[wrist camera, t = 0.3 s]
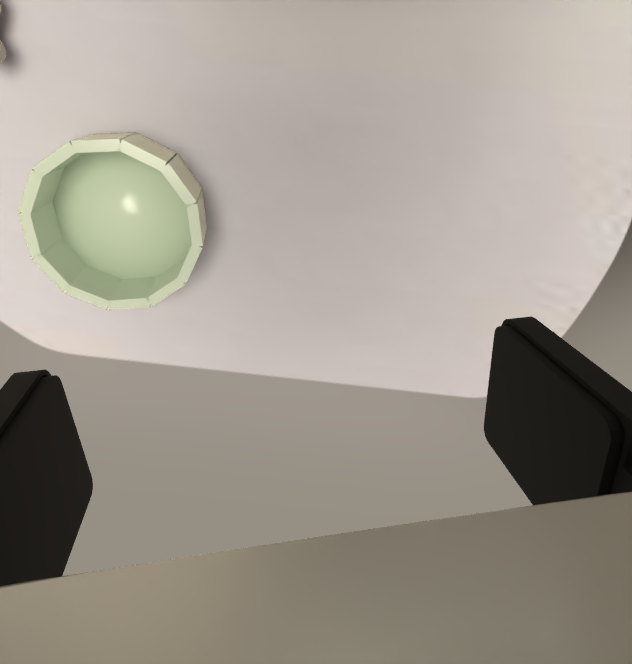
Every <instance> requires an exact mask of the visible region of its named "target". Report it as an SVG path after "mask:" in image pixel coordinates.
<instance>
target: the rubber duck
mask: <svg viewBox="0 0 632 664" xmlns="http://www.w3.org/2000/svg"><path fill="white" fill-rule="evenodd" d="M0 13H1V4H0ZM5 58H6V50H5V47H4V45H3V43H2V42H1V40H0V62H3V61H4V60H5Z"/></svg>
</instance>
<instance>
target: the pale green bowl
mask: <svg viewBox="0 0 632 664" xmlns="http://www.w3.org/2000/svg"><path fill="white" fill-rule="evenodd" d="M175 154H176V153H175V152H173V151H172V150H170V149H168V148H166V147H164V146H162V145H160V144H158V143H156V142H154V141H152V140H150V139H148V138H146V137H144V136H142V135H140V134H138V133H137V134H135V133H114V134H93V135H89V136H86V137H82V138H79V139H75V140H72V141H69V142H67V143H66V144H65V145H63V146H62V147H60V148H59V149H58V150H56V151H55V152H53V153H52V154H51V155H49V156H48V157H47V158H45V159H44V160H42V161H41V162H40V163H38V164H37V165H36V166H34V167H33V169H32V170H31V171H30V174H29V178H28V181H27V184H26V187H25V190H24V193H23V197H22V200H21V203H20V206H19V209H18V212H20V213H18V216H19V219H20V223H21V226H22V230H23V233H24V237H25V240H26V244H27V248H28V251H29V255H30V257H33V258H32V260H33V261H34V262H35V263H36V264H37V265H38V267H39V268H40V269H41V270H42V271H43V272H44V273H45V274H46V275H47V276H48V277H49V278H50V279H51V280H52V281H53V282H54V283H55V284H56V285H57V286H58V288H59V289H60V290H61V291H62V292H64V291H66V293H65V294H67V295H70V296H72V297H75V298H77V299H80V300H83V301H85V302H88V303H90V304H93V305H95V306H98V307H101V308H103V309H106V310H107V309H108V308H109V310H119V309H131V308H144V307H151V305H152V306H154V305H155V304H157V303H158V302H160V301H161V300H163V299H164V298H166V297H167V296H169V295H170V294H172V293H174V292H175V291H177V290H178V289H180V288H181V287H183V286H184V285H185V283H187V281H188V279H189V276H190V274H191V272H192V270H193V268H194V265H195V263H196V261H197V259H198V257H199V254H200V252H201V250H202V248H203V243H204V239H205V235H206V231H207V222H206V214H205V206H204V198H203V190H201V189H202V188H201V186H200V185H199V183H198V182H197V181H196V179H195V178H194V176H193V175H192V174H191V172H190V171H189V169H188V168H187V167H186V165H185V164H184V162H183V161H182V160H181V158H180V157H179V155H178V154H177V155H176V156H175Z"/></svg>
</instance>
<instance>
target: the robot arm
mask: <svg viewBox="0 0 632 664" xmlns="http://www.w3.org/2000/svg"><path fill="white" fill-rule="evenodd" d="M484 432H485V436H486V438H487V441H488V442H489V444H490V445H491V447H492V448H493V449H494V451H495V452H496V454H497V455H498V457H499V458H500V459H501V461H502V462H503V464H504V465H505V466H506V468H507V469H508V470H509V472H510V473H511V475H512V476H513V478H514V479H515V480H516V482H517V483H518V485H519V486H520V487H521V489H522V490H523V491H524V493H525V494H526V496H527V497H528V499H529V500H530V501H531V503H532V504H533V505H532V506H526V507H518V508H511V509H504V510H497V511H490V512H484V513H476V514H470V515H463V516H456V517H449V518H443V519H436V520H429V521H422V522H415V523H409V524H401V525H395V526H388V527H381V528H374V529H368V530H361V531H354V532H347V533H341V534H334V535H328V536H321V537H314V538H308V539H301V540H295V541H288V542H282V543H275V544H269V545H262V546H255V547H249V548H242V549H235V550H229V551H222V552H216V553H209V554H202V555H196V556H189V557H184V558H176V559H170V560H164V561H158V562H152V563H145V564H138V565H132V566H125V567H119V568H112V569H106V570H99V571H93V572H86V573H80V574H74V575H67V576H62V575H63V572H64V569H65V566H66V564H67V561H68V558H69V556H70V553H71V550H72V547H73V544H74V542H75V539H76V536H77V533H78V531H79V528H80V525H81V523H82V520H83V517H84V514H85V512H86V509H87V506H88V503H89V501H90V498H91V495H92V489H93V483H92V477H91V473H90V470H89V467H88V464H87V461H86V458H85V454H84V451H83V448H82V445H81V442H80V439H79V435H78V432H77V429H76V426H75V423H74V420H73V417H72V413H71V411H70V407H69V404H68V401H67V398H66V395H65V392H64V388H63V385H62V382H61V380H60V378H59V377H58V376H51V374H50V373H49V372H48V371H47V370H38V371H29V372H19V373H14V374H13V375H12V376H11V377H10V378H9V379H8V381H7V382H6V383H5V385H4V386H3V387H2V388H1V390H0V664H632V392H631V391H630V390H629V389H627V388H626V387H625V386H623V385H622V384H621V383H619V382H618V381H617V380H615V379H614V378H613V377H611V376H610V375H609V374H607V373H606V372H605V371H603V370H602V369H601V368H600V367H598V366H597V365H596V364H594V363H593V362H591V361H590V360H589V359H588V358H587V357H585V356H584V355H583V354H581V353H580V352H579V351H577V350H576V349H574V348H573V347H572V346H571V345H569V344H568V343H567V342H565V341H564V340H563V339H562V338H560V337H559V336H558V335H556V334H555V333H554V332H552V331H551V330H550V329H548V328H547V327H546V326H544V325H543V324H542V323H541V322H539V321H538V320H537V319H535V318H533V317H523V318H514V319H506V320H505V321H504V322H503V324H502V326H499V327H497V328H496V330H495V334H494V342H493V351H492V359H491V368H490V377H489V386H488V394H487V403H486V412H485V421H484Z"/></svg>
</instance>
